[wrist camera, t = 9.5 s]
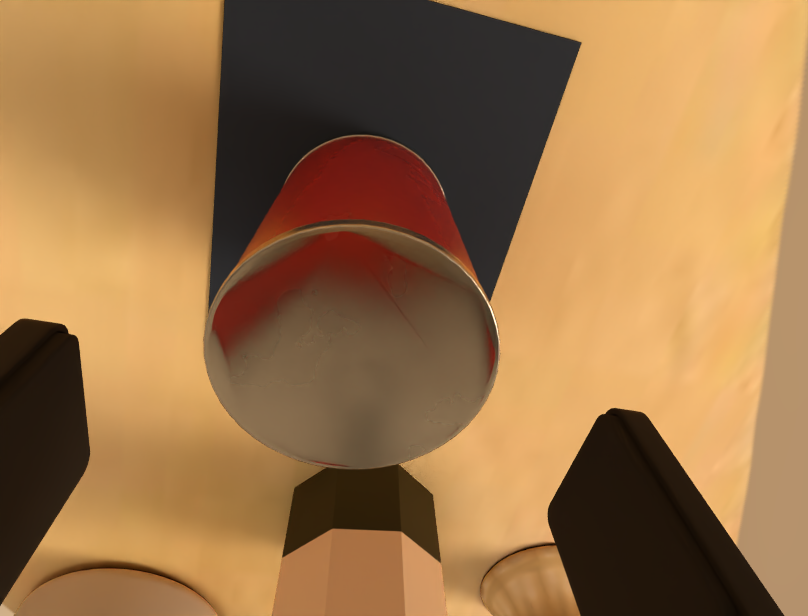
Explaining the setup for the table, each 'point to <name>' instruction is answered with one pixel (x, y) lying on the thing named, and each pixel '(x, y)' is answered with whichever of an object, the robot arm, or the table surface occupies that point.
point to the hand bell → (529, 585)
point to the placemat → (384, 108)
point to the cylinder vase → (113, 596)
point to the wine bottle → (361, 547)
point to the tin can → (354, 314)
